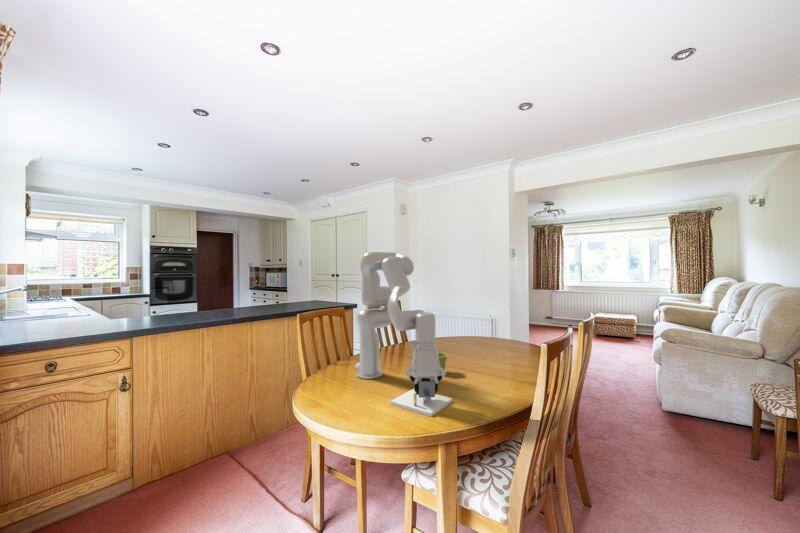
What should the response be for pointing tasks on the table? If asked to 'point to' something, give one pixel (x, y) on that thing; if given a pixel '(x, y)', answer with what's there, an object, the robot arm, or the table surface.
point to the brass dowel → (415, 399)
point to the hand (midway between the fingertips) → (426, 392)
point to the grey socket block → (426, 388)
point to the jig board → (421, 403)
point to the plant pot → (442, 360)
